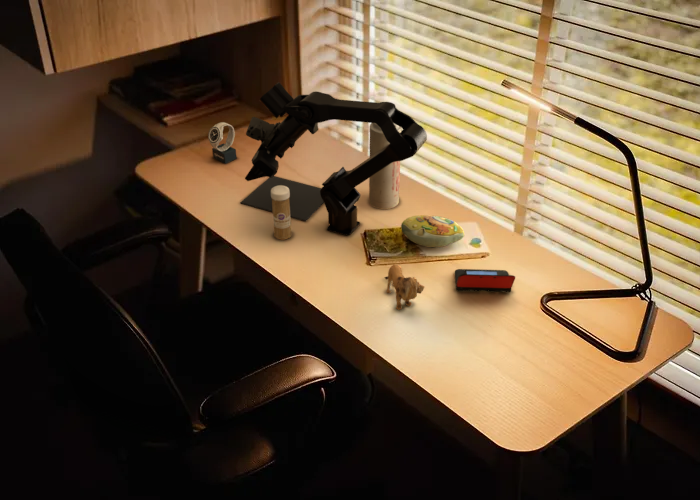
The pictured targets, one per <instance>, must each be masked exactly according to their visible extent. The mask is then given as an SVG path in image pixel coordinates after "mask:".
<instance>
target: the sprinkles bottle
mask: <svg viewBox="0 0 700 500" xmlns="http://www.w3.org/2000/svg"><path fill="white" fill-rule="evenodd" d="M289 197H290V191H289V188H288V187H286V186H283V185H279V186H275V187H273V188H272V189H271V198H272V210H273V212H272V224H273V236H274V238H276V239H277V240H281V241H282V240H288V239H290V238H291V237H292V233H293V232H292V219H291V216H290V203H289Z"/></svg>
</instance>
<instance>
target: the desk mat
mask: <svg viewBox="0 0 700 500" xmlns="http://www.w3.org/2000/svg"><path fill="white" fill-rule="evenodd" d="M279 185H283V186H286V187H288V188H289V191H290V197H289V203H290V216H291V218H292V219H295V220H299V221H303V222H307V221H308V220H309V219H311V217H312V216H313V215H314V214H315V213H316V212H317V211H318V210H319V209H320V208H321V207H322V206H323V205H325V204H324V201H323V199H322V198H321V195H320V190H321V188H322V187H318V186H314V185H310V184H306V183H304V182H300V181H295V180H291V179H287V178H283V177H279V176H276V175H274V176H273V177H272V178H270V177H267V179H266V180H264V181H263V182H262V183H261V184H260V185H259V186H258V187H256V188H255V189H254V190H253V191H252V192H251V193H249V194H248V195H247V196H246V197H244V199H243V200H241V201H240V204H241V205H244V206H248V207H252V208H255V209H258V210H263V211H265V212H270V213H273V210H272V198H271V189H272V188H273V187H275V186H279Z"/></svg>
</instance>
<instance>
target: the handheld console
mask: <svg viewBox="0 0 700 500" xmlns="http://www.w3.org/2000/svg"><path fill="white" fill-rule="evenodd" d="M515 280H516V276H515V275H511V274H509V272H508V271H507V270H505V269H478V268H477V269H475V268H474V269H473V268H457V269H455V270H454V284H455V291H457V292H489V293H511V292H512V287H513V285H514V283H515Z"/></svg>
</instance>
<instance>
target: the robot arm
mask: <svg viewBox="0 0 700 500" xmlns="http://www.w3.org/2000/svg"><path fill="white" fill-rule="evenodd" d="M258 101H259V102H260V103H261V104H262V105H263V106H264V107H265V108H266V110H267V111H268V112H269V113H270V114H271V115H272V116H273V117H274V118H275V119H278V118H279V117H280V118H281V119H282V118H283V117H285V116H286V115H287V116H286V117H285V118H284V119H283V120H282V121H281V122H280V121H279V122H276V123H270V122H269V121H266V120H263V119H261V118H259V117H256V116H252V117H251V119H250V121H249V124H248V126H247V129H246V132H245V136H247V137H249V138H250V139H252V140H255V141H258V142H260V143H261V144H260V145H259V147H258V148H257V150H256V151H255V153H254V155H253V157H252V158H251V164H252V167H250V170H249V171H248V172H247V174H246V176H244V180H246V182H250V181H254V180H258V179H261V178H269V177H270V178H272V177H273V176H276V175H277V174H278V171H279V168H280V165H279V161H278V160H277V159H276V158H277V157H278V158H279V159H280V160H281V159H282V158H284V155H285V153H286V151H288V150H289V149H290V148H291V149H293V147H295V144H296V142H297V141H298V140H299V139H300V138H301V137H302V136H303V135H305V133H306V132H307V131H308V132H309V133H310V134H311V135H315V134H316V133H317V132H318V131H319V125H318V124H319V123H324V122H327V121H332V120H333V121H334V120H336V121H346V122H347V121H348V122H358V123H366V124H367V123H369V124H371V123H376V124H377V125H378V126H379V127H380V128H381V130H382V132H383V134H384V136H385V138H386V140H387V141H388V142H389V143H390V144H389V145H387V146H386V147H384V148H383V149H382V150H380V151H379V152H377V153H376V154H374V155H373V156H371V157H370V156H369V157H367V159H366V160H364V161H362V162H361V163H359V164H358V165H356V166H355V167H354V168H352V169H350V170H346V168H345V167H344V166H342V167H341V168H340V169H339V170H338V171H334V172H332V173H331V174H330V176H329V177H327V179H325V181H323V182H322V184H321V185H322V187H320V188H321V190H320V195H321V198H322V199H323V201H324V204H323V205H324V207H325V209H326V212H327V215H328V216H327V223H328V226H327V227H326V231H329V232H333V233H336V234H340V235H343V236H346V237H349V236H351V235H352V234H353V233H354V231H355V230H356V229H357V228H358V227H359V226H360V225H361V221H358V206H357V205H356V203H358V202H359V201H360V199H361V193H360V192H359V191H358V190H357V188H356V187H357V186H359V185H361V184H362V183H364V182H365V181H367V180H368V179H369V178H370V177H371V176H373V175H374V174H376V173H377V172H379V171H380V170H382V169H383V168H385V167H386V166H388V165H390V164H391V163H393V162H397V161H400V162H402V161H405V160H408V159H410V158H412V157H414V156H415V155H416V154H417V153H418V151H419V150H420V149H421V148H422V147H423V146H424V144H425V143H426V142H427V140H428V135H427V132H426V129H425V128H424V127H423V126H422V125H420V124H418V122H416V120H414V119H413V117H412V116H410V115H409V114H407V113H404V112H403V111H401V110H400V109H398V108H397V107H395V106H396V105H395V106H394V105H393V104H394V103H393V104H391V103H392V102H391V103H389V102H390V101H383V102H384V103H380V102H373V101H362V100H349V99H339V98H335V97H333V96H332V95H331V94H328V93H326V92H322V91H321V92H320V91H317V90H316V91H312V92H310V93H309V94H299V95H297V96H296V97H293V96H292V95H291V94H290V93H289V92H288V91H287V90H286V89H285V87H284V86H283V85H282V84H281V82H277V83H276V84H274V85H273V86H272V88H270V89H269V90H268V91H267V92H265V93H264V94H263V95H262V96H261V97H260V98H259V100H258ZM394 124H396V125H398V126H400V127H401V132H400V133H399V132H398V131H397V129H396V127H395V125H394Z"/></svg>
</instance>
